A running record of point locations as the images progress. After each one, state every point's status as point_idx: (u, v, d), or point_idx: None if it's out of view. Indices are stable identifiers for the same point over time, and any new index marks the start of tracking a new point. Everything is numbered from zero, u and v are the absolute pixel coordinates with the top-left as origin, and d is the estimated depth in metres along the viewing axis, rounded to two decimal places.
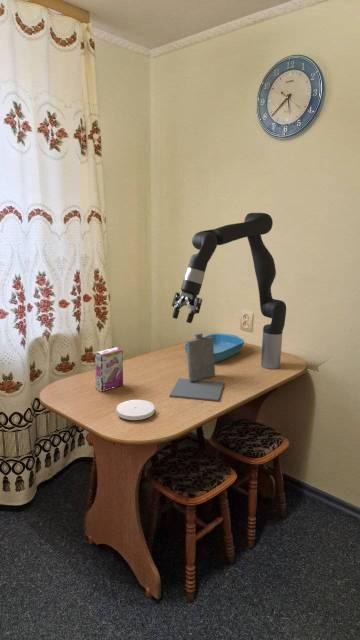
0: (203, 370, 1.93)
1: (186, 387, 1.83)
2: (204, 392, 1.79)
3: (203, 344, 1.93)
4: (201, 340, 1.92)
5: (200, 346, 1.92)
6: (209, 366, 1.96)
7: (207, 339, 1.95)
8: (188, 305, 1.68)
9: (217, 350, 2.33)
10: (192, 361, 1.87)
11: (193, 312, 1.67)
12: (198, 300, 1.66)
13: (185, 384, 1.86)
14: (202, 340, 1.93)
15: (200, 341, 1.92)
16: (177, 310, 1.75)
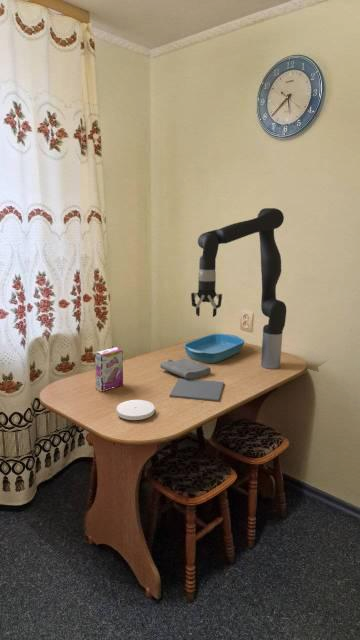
0: (194, 369, 1.98)
1: (186, 387, 1.83)
2: (204, 392, 1.79)
3: (178, 362, 2.07)
4: (173, 361, 2.07)
5: (175, 363, 2.05)
6: (197, 366, 2.01)
7: (179, 359, 2.10)
8: (212, 302, 1.91)
9: (217, 350, 2.33)
10: (173, 367, 1.97)
11: (217, 307, 1.92)
12: (221, 297, 1.91)
13: (185, 384, 1.86)
14: (174, 361, 2.08)
15: (172, 361, 2.07)
16: (199, 308, 1.95)
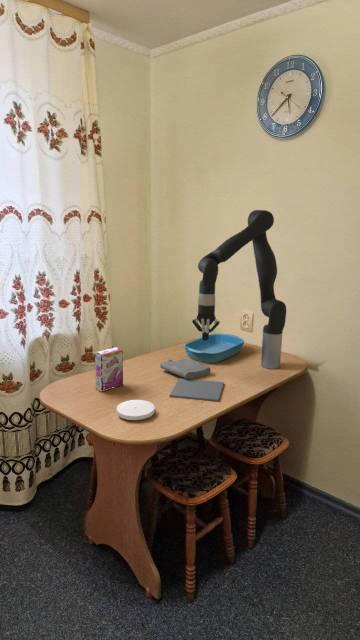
0: (194, 369, 1.98)
1: (186, 387, 1.83)
2: (204, 392, 1.79)
3: (178, 362, 2.07)
4: (173, 361, 2.07)
5: (175, 363, 2.05)
6: (197, 366, 2.01)
7: (179, 359, 2.10)
8: (207, 326, 1.94)
9: (217, 350, 2.33)
10: (173, 367, 1.97)
11: (210, 331, 1.95)
12: (218, 324, 1.94)
13: (185, 384, 1.86)
14: (174, 361, 2.08)
15: (172, 361, 2.07)
16: None
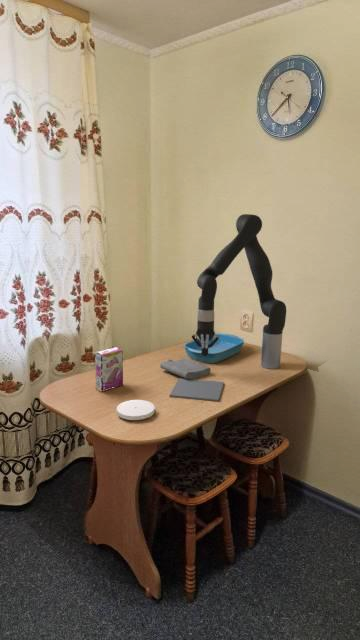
0: (194, 369, 1.98)
1: (186, 387, 1.83)
2: (204, 392, 1.79)
3: (178, 362, 2.07)
4: (173, 361, 2.07)
5: (175, 363, 2.05)
6: (197, 366, 2.01)
7: (179, 359, 2.10)
8: (207, 342, 1.96)
9: (217, 350, 2.33)
10: (173, 367, 1.97)
11: (209, 347, 1.97)
12: None
13: (185, 384, 1.86)
14: (174, 361, 2.08)
15: (172, 361, 2.07)
16: None
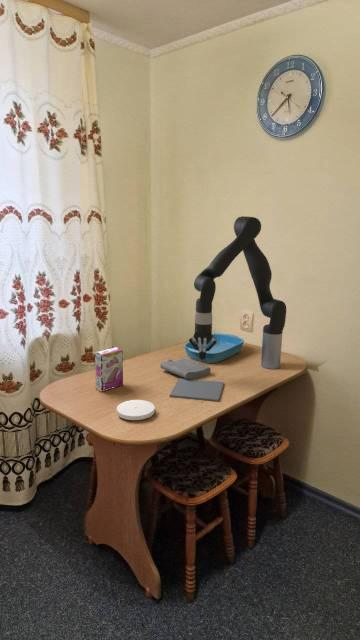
0: (194, 369, 1.98)
1: (186, 387, 1.83)
2: (204, 392, 1.79)
3: (178, 362, 2.07)
4: (173, 361, 2.07)
5: (175, 363, 2.05)
6: (197, 366, 2.01)
7: (179, 359, 2.10)
8: (204, 345, 1.90)
9: (217, 350, 2.34)
10: (173, 367, 1.97)
11: (207, 350, 1.91)
12: (215, 343, 1.90)
13: (185, 384, 1.86)
14: (174, 361, 2.08)
15: (172, 361, 2.07)
16: None
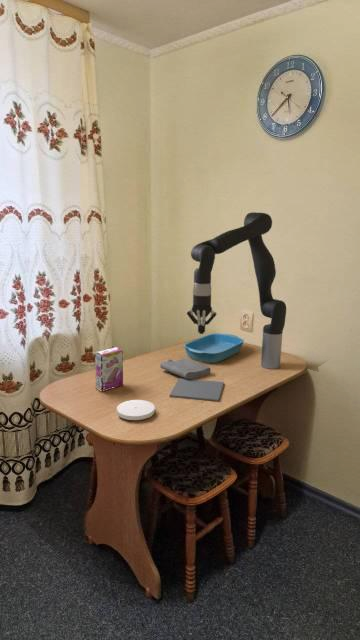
0: (194, 369, 1.98)
1: (186, 387, 1.83)
2: (204, 392, 1.79)
3: (178, 362, 2.07)
4: (173, 361, 2.07)
5: (175, 363, 2.05)
6: (197, 366, 2.01)
7: (179, 359, 2.10)
8: (203, 318, 1.81)
9: (217, 350, 2.34)
10: (173, 367, 1.97)
11: (206, 324, 1.82)
12: None
13: (185, 384, 1.86)
14: (174, 361, 2.08)
15: (172, 361, 2.07)
16: None
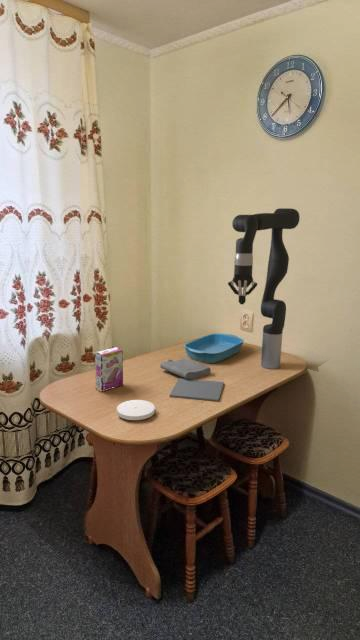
0: (194, 369, 1.98)
1: (186, 387, 1.83)
2: (204, 392, 1.79)
3: (178, 362, 2.07)
4: (173, 361, 2.07)
5: (175, 363, 2.05)
6: (197, 366, 2.01)
7: (179, 359, 2.10)
8: (244, 289, 1.83)
9: (217, 350, 2.34)
10: (173, 367, 1.97)
11: (247, 294, 1.84)
12: None
13: (185, 384, 1.86)
14: (174, 361, 2.08)
15: (172, 361, 2.07)
16: None
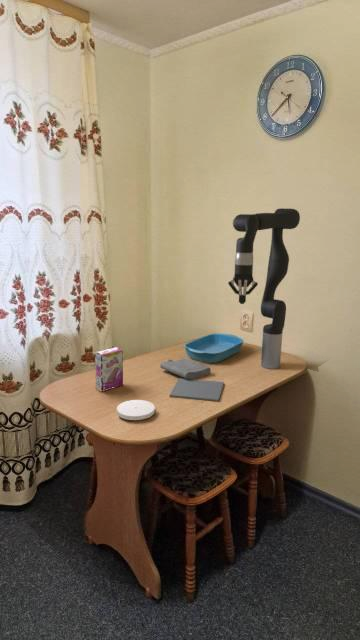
0: (194, 369, 1.98)
1: (186, 387, 1.83)
2: (204, 392, 1.79)
3: (178, 362, 2.07)
4: (173, 361, 2.07)
5: (175, 363, 2.05)
6: (197, 366, 2.01)
7: (179, 359, 2.10)
8: (245, 288, 1.83)
9: (216, 350, 2.34)
10: (173, 367, 1.97)
11: (247, 294, 1.84)
12: None
13: (185, 384, 1.86)
14: (174, 361, 2.08)
15: (172, 361, 2.07)
16: (242, 295, 1.85)
